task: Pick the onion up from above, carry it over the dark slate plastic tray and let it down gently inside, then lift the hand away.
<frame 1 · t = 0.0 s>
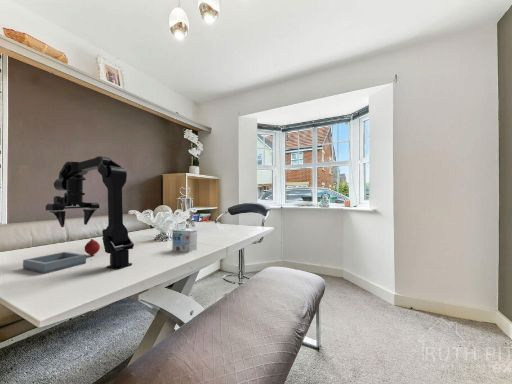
hand: (74, 225, 102), 15 cm above the table, tool pointing down, fingers open, 9 cm apart
light bulb box: (184, 250, 119), on the table
onion: (92, 256, 107), on the table
tray: (55, 266, 91), on the table
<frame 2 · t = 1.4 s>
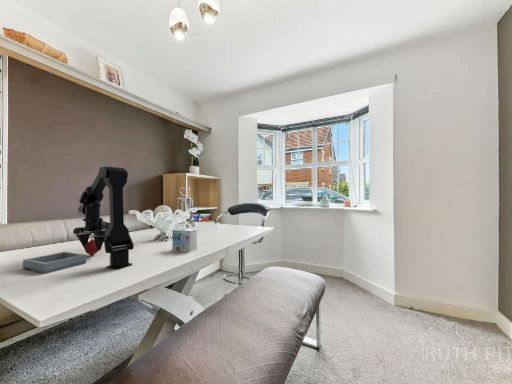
hand: (92, 249, 107), 3 cm above the table, tool pointing down, fingers open, 9 cm apart
nothing on the table moved.
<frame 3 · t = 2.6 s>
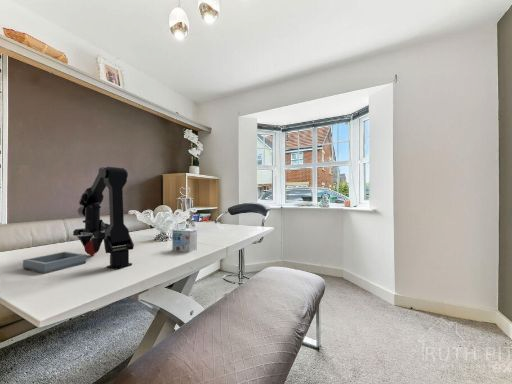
hand: (92, 251, 107), 2 cm above the table, tool pointing down, fingers closed on onion, 6 cm apart
onion: (92, 256, 107), on the table, touching gripper
everything else where it was.
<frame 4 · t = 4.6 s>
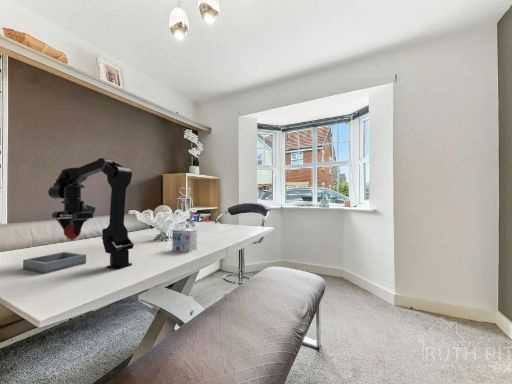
hand: (72, 235, 98), 11 cm above the table, tool pointing down, fingers closed on onion, 6 cm apart
onion: (72, 240, 98), point 9 cm above the table, touching gripper
everything else where it was.
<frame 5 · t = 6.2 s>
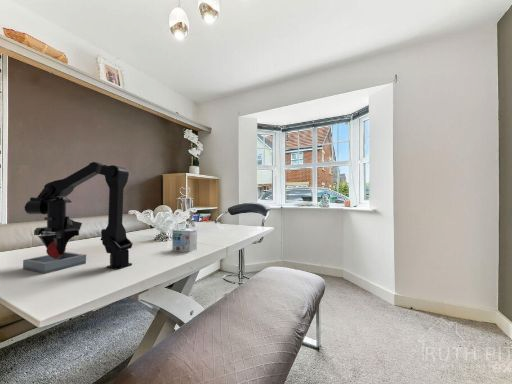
hand: (56, 253, 92), 5 cm above the table, tool pointing down, fingers closed on onion, 6 cm apart
onion: (56, 259, 91), point 3 cm above the table, touching gripper
everything else where it was.
when the fingers open (5 cm above the table, at t = 7.0 s): onion drops 2 cm, resting on tray.
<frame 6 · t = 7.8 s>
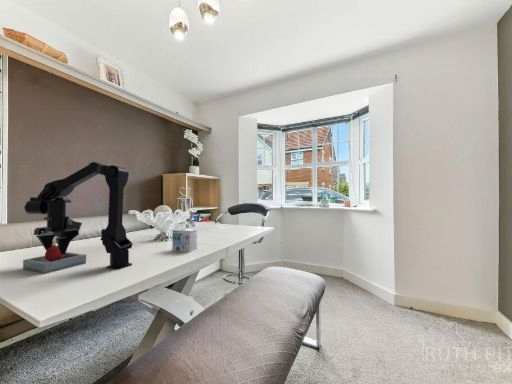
hand: (56, 253, 92), 5 cm above the table, tool pointing down, fingers open, 9 cm apart
onion: (56, 263, 91), point 1 cm above the table, touching tray
everything else where it was.
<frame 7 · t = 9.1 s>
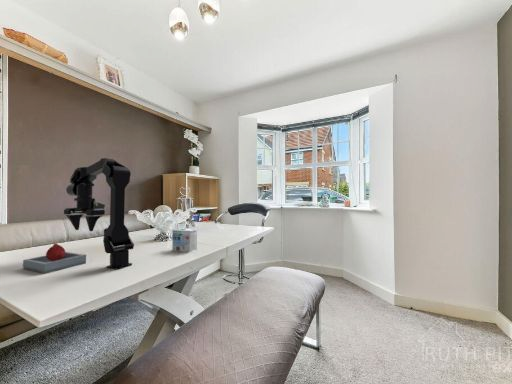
hand: (84, 230, 104), 12 cm above the table, tool pointing down, fingers open, 9 cm apart
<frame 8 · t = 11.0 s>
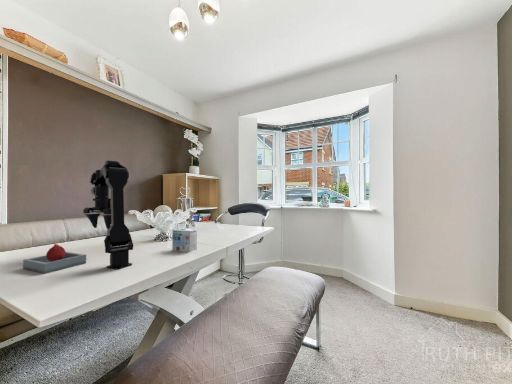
hand: (101, 228, 113), 12 cm above the table, tool pointing down, fingers open, 9 cm apart
nothing on the table moved.
at the end: onion inside the target area on the tray (0.1 cm from its centre), point 0.8 cm above the tray's base; the gripper is holding nothing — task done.
